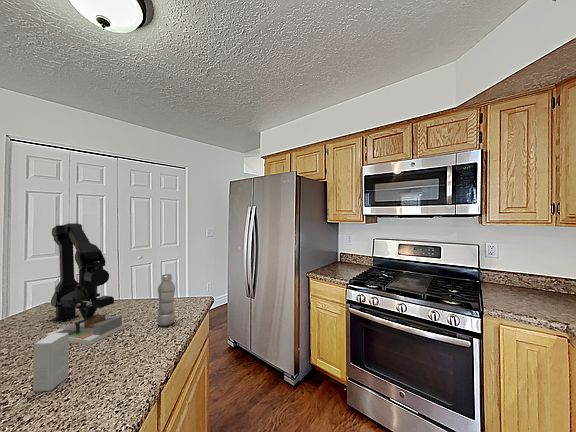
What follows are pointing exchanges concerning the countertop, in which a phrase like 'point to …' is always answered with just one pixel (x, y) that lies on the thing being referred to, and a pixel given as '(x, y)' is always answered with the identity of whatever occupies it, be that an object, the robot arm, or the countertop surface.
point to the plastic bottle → (166, 301)
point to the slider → (90, 321)
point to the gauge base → (92, 330)
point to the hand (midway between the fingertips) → (87, 322)
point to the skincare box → (50, 361)
